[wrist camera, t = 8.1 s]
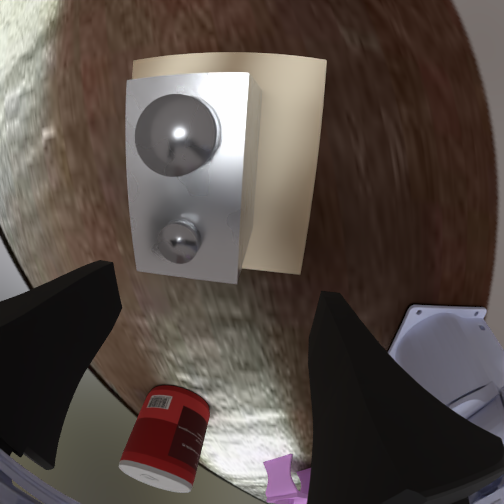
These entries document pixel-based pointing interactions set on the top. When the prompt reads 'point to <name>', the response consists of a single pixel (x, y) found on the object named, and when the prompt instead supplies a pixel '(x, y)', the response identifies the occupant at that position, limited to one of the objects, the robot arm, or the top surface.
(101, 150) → the top surface
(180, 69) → the stand
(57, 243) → the top surface
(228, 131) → the housing
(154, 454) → the canned food
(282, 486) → the toy chair
